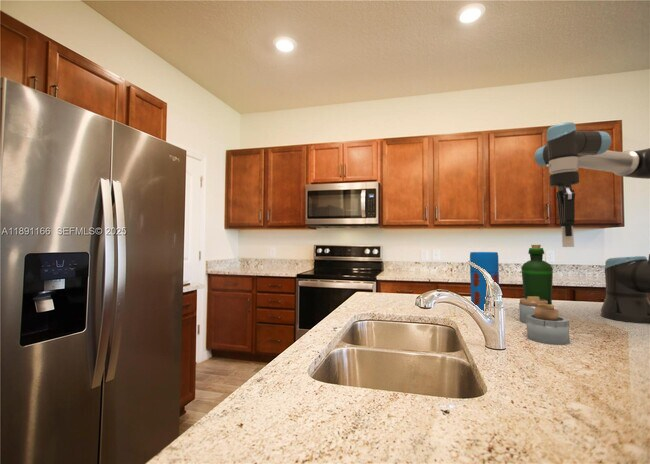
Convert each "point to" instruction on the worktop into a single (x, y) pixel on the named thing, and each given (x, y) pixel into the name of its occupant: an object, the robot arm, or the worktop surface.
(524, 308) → the canister
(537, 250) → the bottle
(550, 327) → the canister
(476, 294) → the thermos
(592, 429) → the worktop surface
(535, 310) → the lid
